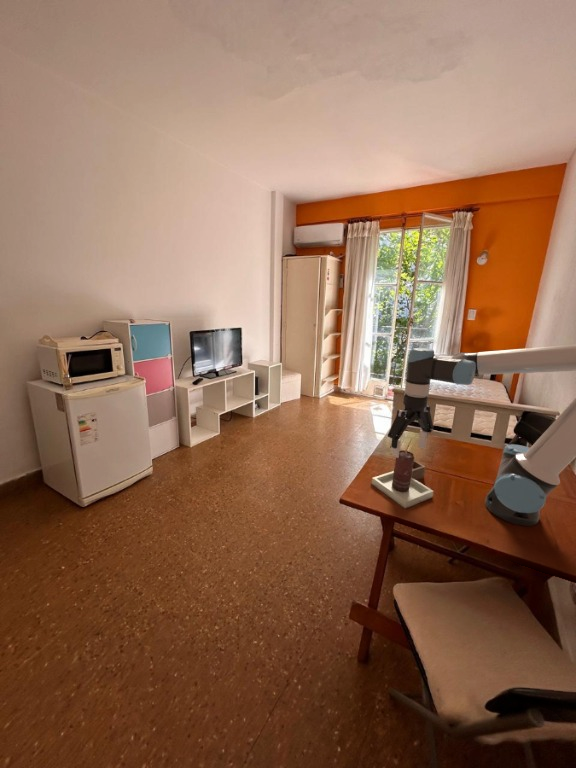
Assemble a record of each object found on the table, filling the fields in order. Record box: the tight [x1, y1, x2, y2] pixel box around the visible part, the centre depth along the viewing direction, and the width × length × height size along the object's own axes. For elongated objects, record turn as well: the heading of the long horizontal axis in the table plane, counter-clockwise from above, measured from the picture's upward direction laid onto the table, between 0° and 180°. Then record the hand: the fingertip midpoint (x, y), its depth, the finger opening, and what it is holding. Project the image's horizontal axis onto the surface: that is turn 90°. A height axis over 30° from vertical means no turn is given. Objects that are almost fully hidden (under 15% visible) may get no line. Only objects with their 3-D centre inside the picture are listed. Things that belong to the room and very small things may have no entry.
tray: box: [371, 470, 434, 509], centre depth 116 cm, size 16×14×3 cm
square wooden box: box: [411, 459, 427, 481], centre depth 126 cm, size 8×8×5 cm
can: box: [392, 449, 415, 492], centre depth 115 cm, size 6×6×14 cm
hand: (408, 451), depth 112 cm, fingers open, 13 cm apart
